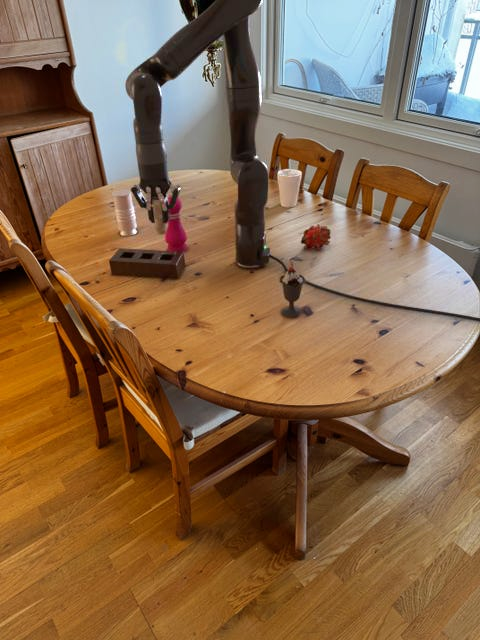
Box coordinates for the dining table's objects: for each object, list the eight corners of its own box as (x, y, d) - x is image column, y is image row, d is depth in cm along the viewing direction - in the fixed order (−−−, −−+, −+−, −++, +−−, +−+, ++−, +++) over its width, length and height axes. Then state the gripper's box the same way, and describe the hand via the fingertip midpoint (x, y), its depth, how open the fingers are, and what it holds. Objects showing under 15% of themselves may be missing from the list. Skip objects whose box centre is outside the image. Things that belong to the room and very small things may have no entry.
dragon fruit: (331, 248, 159) (303, 261, 156) (318, 228, 161) (290, 240, 158) (340, 235, 151) (311, 249, 148) (327, 214, 153) (297, 227, 150)
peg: (168, 230, 132) (163, 192, 126) (165, 235, 129) (160, 196, 123) (157, 229, 132) (152, 192, 126) (154, 234, 130) (148, 196, 123)
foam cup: (273, 202, 192) (274, 170, 185) (294, 199, 194) (295, 168, 187) (282, 210, 185) (283, 177, 177) (303, 207, 187) (305, 174, 180)
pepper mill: (184, 255, 154) (178, 197, 143) (163, 254, 155) (156, 195, 144) (190, 246, 160) (185, 189, 148) (170, 244, 161) (163, 188, 150)
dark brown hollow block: (185, 265, 148) (183, 251, 145) (177, 279, 141) (176, 264, 138) (122, 262, 151) (119, 248, 148) (111, 275, 144) (108, 260, 141)
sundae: (287, 302, 129) (289, 254, 120) (308, 310, 125) (311, 261, 116) (273, 313, 124) (274, 263, 116) (294, 322, 121) (297, 271, 112)
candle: (139, 234, 169) (133, 194, 160) (120, 237, 167) (113, 197, 158) (136, 227, 174) (129, 188, 166) (117, 230, 172) (110, 191, 164)
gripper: (120, 162, 117) (131, 226, 127) (174, 163, 115) (181, 228, 125) (130, 154, 123) (140, 216, 133) (182, 155, 121) (187, 218, 131)
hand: (160, 221), depth 129 cm, fingers closed on peg, 3 cm apart
